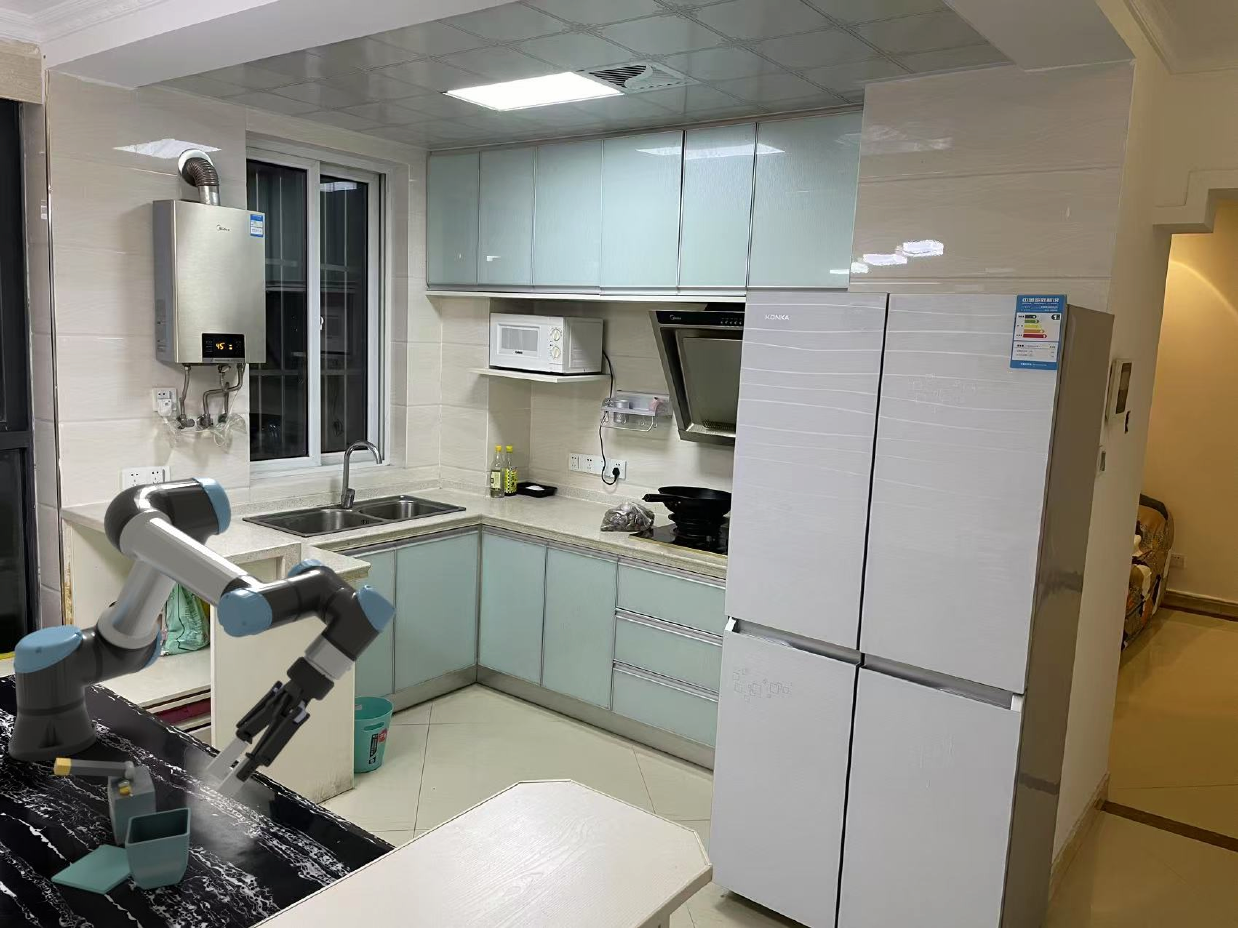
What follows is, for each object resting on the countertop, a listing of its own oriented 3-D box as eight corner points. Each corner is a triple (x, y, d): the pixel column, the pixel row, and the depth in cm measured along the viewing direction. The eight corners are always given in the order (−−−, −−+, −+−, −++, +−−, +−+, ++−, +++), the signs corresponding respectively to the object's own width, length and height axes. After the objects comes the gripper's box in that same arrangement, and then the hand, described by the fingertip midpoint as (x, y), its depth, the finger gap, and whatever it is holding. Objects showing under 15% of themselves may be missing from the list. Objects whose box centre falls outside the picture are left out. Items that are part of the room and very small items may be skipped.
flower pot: (126, 901, 138) (124, 845, 137) (131, 869, 146) (129, 816, 145) (191, 888, 141) (189, 834, 140) (192, 858, 149) (190, 806, 148)
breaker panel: (148, 806, 165) (146, 760, 163) (156, 835, 156) (154, 786, 154) (108, 815, 161) (106, 768, 160) (115, 845, 152) (112, 795, 151)
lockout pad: (104, 847, 152) (104, 844, 152) (154, 859, 149) (154, 855, 149) (51, 881, 142) (51, 877, 142) (103, 894, 139) (103, 890, 139)
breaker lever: (134, 761, 161) (56, 756, 155) (136, 770, 158) (57, 766, 151) (131, 770, 161) (53, 765, 155) (134, 779, 158) (54, 775, 151)
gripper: (354, 701, 147) (249, 824, 140) (318, 662, 163) (223, 769, 157) (320, 675, 143) (210, 799, 136) (287, 637, 160) (187, 746, 153)
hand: (217, 783), depth 146 cm, fingers open, 7 cm apart
